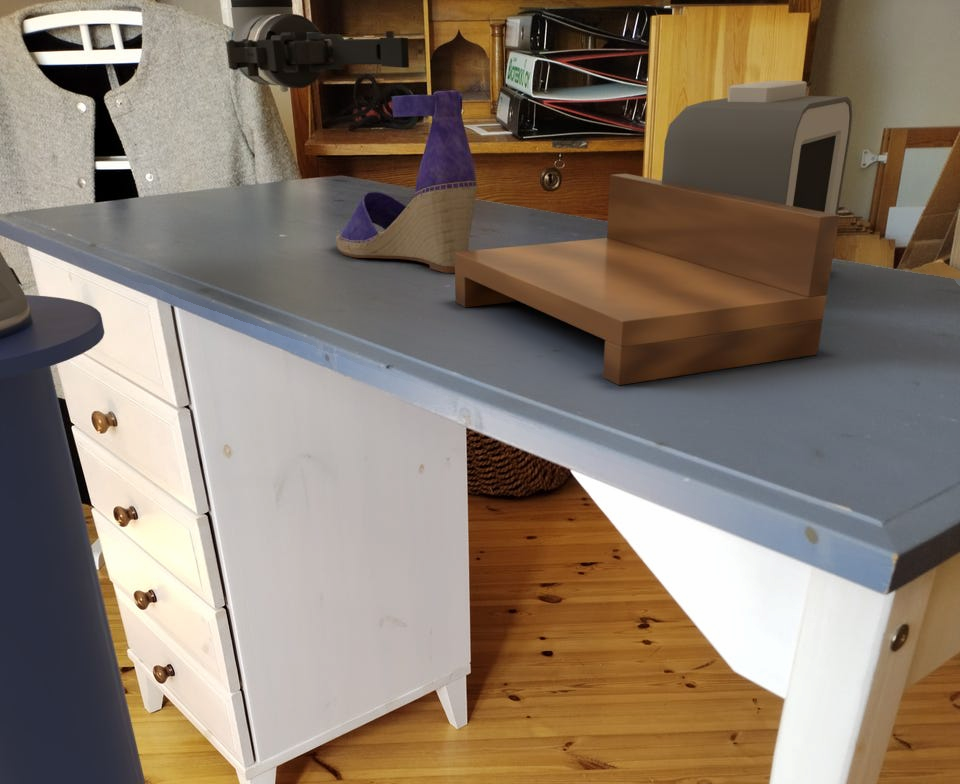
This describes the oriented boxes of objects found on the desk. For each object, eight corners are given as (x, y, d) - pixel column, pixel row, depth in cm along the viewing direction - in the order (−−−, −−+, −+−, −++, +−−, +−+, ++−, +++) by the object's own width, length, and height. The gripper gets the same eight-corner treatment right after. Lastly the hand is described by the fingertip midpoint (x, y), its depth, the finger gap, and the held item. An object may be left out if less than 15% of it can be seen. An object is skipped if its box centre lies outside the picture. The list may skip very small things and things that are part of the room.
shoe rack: (618, 385, 64) (628, 234, 60) (455, 302, 85) (452, 185, 80) (817, 354, 70) (840, 215, 65) (619, 284, 90) (626, 173, 86)
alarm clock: (771, 306, 82) (800, 88, 74) (642, 291, 87) (657, 86, 79) (828, 271, 94) (858, 79, 86) (712, 260, 99) (731, 78, 91)
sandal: (392, 240, 110) (384, 83, 103) (490, 270, 96) (489, 90, 88) (324, 248, 107) (310, 86, 99) (415, 280, 92) (407, 94, 85)
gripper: (387, 83, 127) (455, 91, 110) (186, 91, 118) (227, 100, 101) (384, 13, 123) (453, 10, 106) (175, 15, 114) (216, 12, 98)
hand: (343, 54), depth 104 cm, fingers open, 13 cm apart
